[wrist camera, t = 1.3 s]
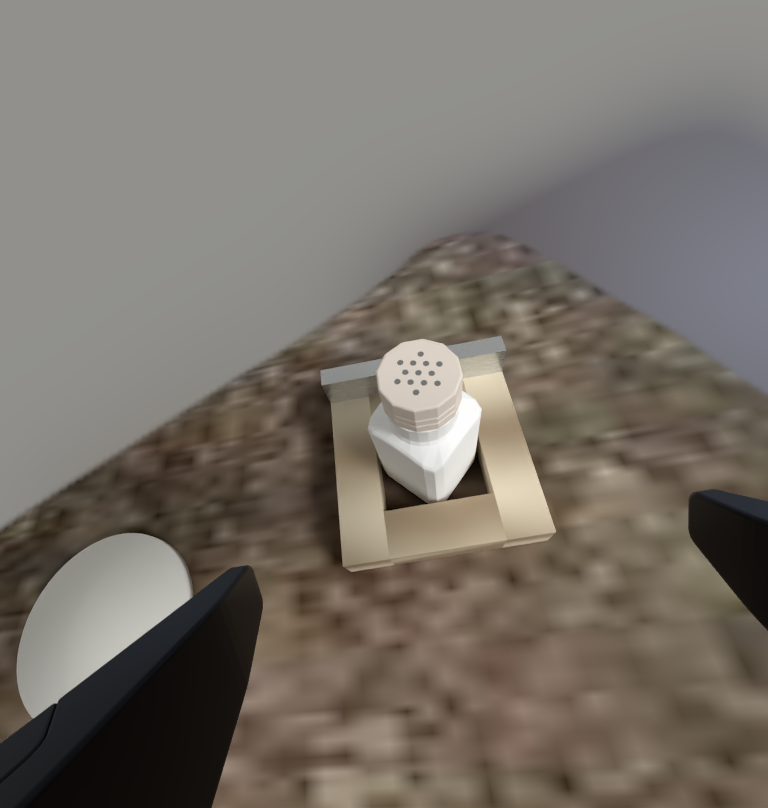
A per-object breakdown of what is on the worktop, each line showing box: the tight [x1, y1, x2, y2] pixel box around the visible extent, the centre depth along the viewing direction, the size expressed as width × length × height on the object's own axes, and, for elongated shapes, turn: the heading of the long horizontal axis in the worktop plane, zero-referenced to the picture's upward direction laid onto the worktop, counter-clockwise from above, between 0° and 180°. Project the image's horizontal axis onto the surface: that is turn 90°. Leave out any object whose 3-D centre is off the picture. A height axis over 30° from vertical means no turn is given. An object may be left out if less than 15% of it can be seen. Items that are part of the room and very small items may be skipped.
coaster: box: [16, 533, 194, 719], centre depth 21 cm, size 9×9×1 cm
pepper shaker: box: [368, 339, 482, 504], centre depth 19 cm, size 4×4×10 cm
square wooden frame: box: [321, 336, 556, 572], centre depth 21 cm, size 10×10×4 cm
